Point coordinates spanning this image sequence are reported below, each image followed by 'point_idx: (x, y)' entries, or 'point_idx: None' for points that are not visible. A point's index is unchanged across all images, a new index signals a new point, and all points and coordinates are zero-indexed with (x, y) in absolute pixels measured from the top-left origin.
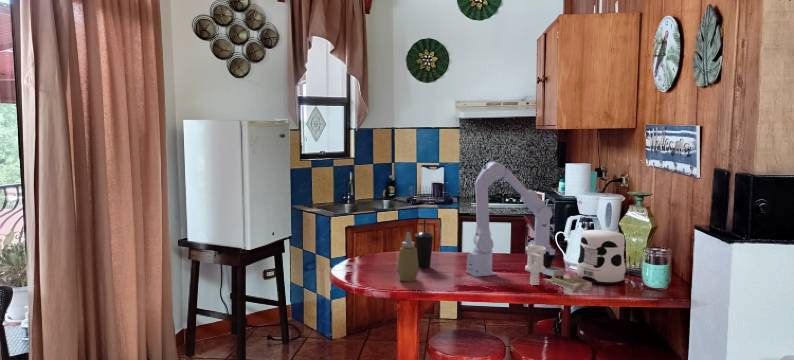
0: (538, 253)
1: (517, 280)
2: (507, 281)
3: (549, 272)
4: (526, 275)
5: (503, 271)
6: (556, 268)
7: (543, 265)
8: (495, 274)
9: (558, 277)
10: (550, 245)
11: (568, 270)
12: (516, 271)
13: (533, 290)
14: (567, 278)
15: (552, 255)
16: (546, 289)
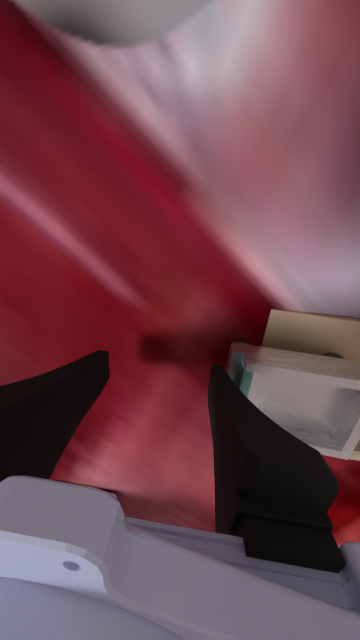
0: (40, 409)
1: (204, 484)
2: (197, 509)
3: (292, 432)
4: (163, 423)
5: (80, 450)
6: (291, 376)
7: (213, 426)
8: (116, 497)
9: (274, 333)
10: (66, 556)
11: (180, 123)
12: (94, 416)
13: (329, 516)
14: (355, 336)
15: (318, 512)
16: (357, 485)
